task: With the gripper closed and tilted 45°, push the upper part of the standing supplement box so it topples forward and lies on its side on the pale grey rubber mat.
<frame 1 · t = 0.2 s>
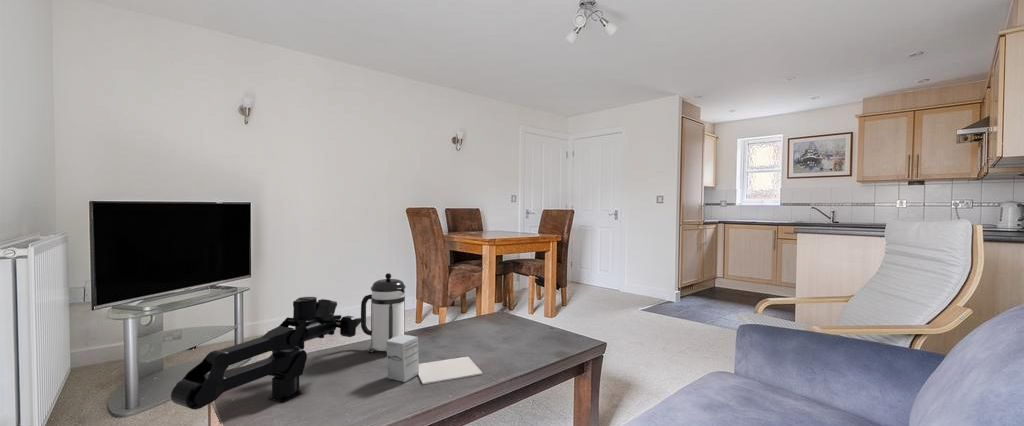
hand: (350, 318, 141), 17 cm above the table, tool horizontal, fingers open, 9 cm apart
coffee press: (384, 350, 157), on the table
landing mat: (447, 370, 138), on the table
supplement box: (403, 376, 132), on the table, touching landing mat
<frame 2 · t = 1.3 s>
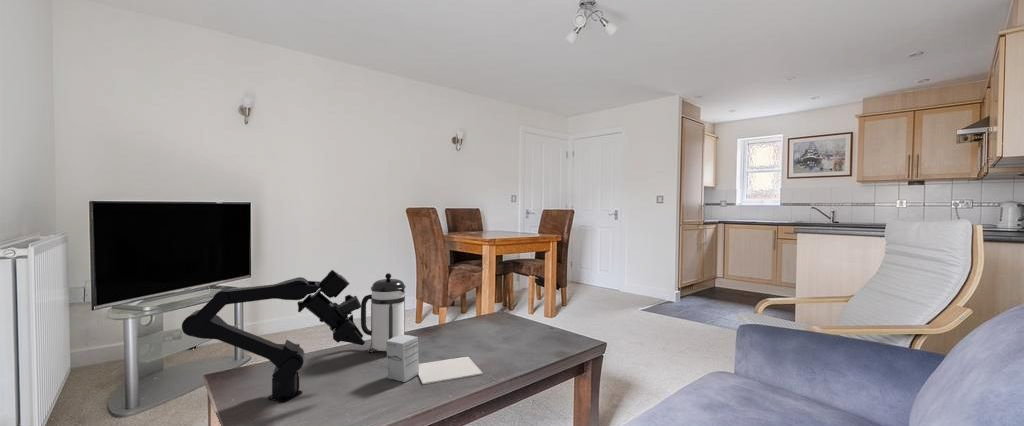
hand: (363, 340, 127), 14 cm above the table, tool tilted 45°, fingers open, 7 cm apart
nothing on the table moved.
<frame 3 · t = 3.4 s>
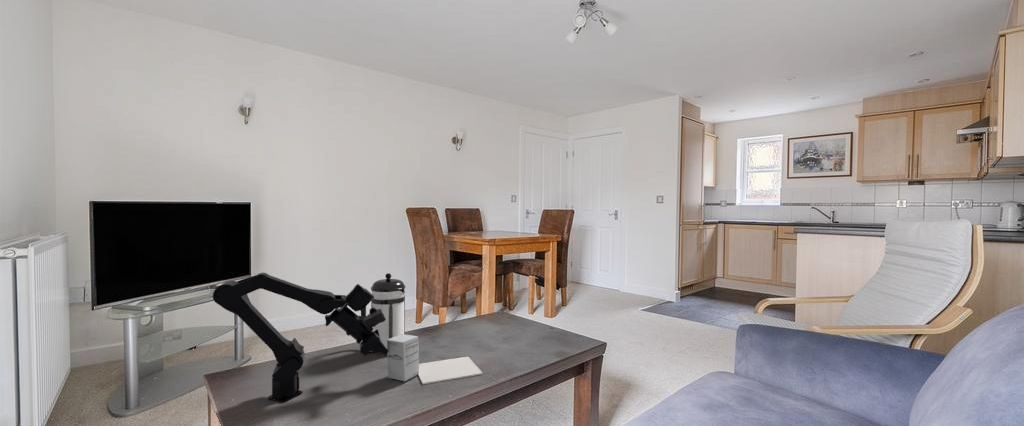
hand: (387, 352, 130), 9 cm above the table, tool tilted 45°, fingers closed
supplement box: (403, 376, 132), on the table, touching gripper, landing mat
everything else where it was.
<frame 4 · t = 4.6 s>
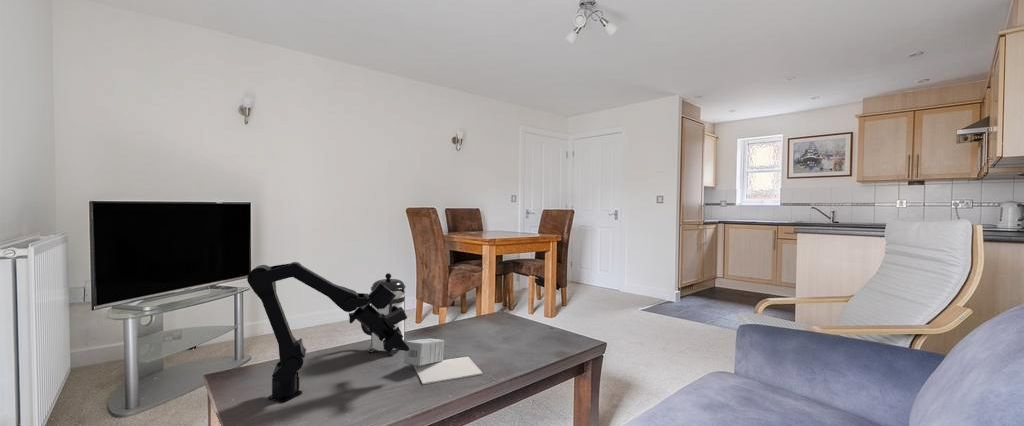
hand: (408, 349, 132), 9 cm above the table, tool tilted 45°, fingers closed
supplement box: (412, 353, 136), point 6 cm above the table
everything else where it was.
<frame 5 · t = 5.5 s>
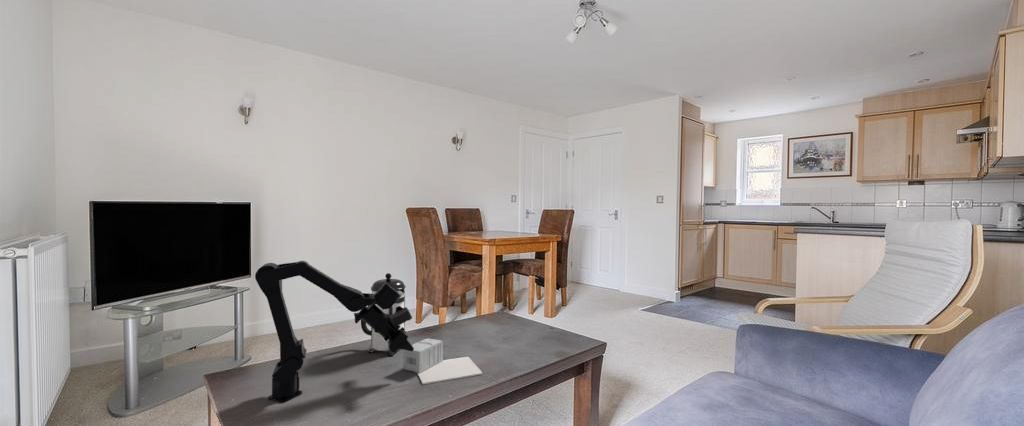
hand: (412, 349, 133), 9 cm above the table, tool tilted 45°, fingers closed
supplement box: (410, 360, 135), point 4 cm above the table, touching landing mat
everything else where it was.
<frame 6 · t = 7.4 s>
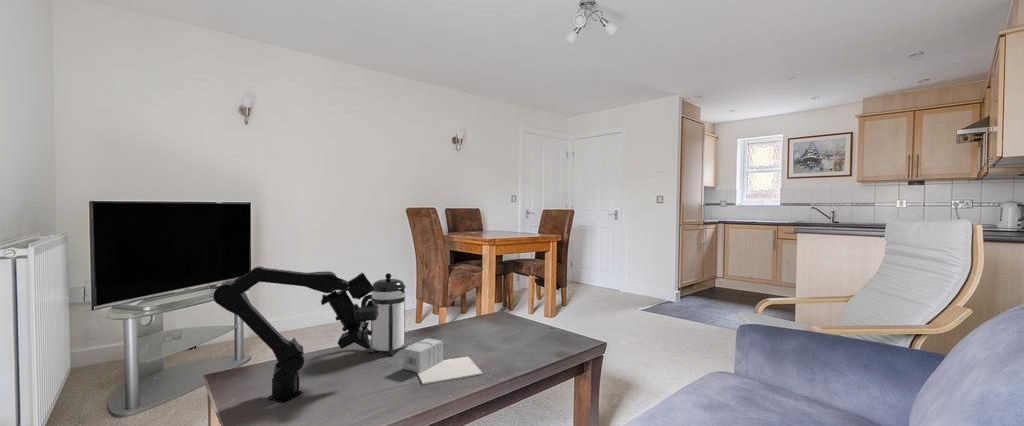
hand: (369, 348, 129), 10 cm above the table, tool tilted 30°, fingers closed
nothing on the table moved.
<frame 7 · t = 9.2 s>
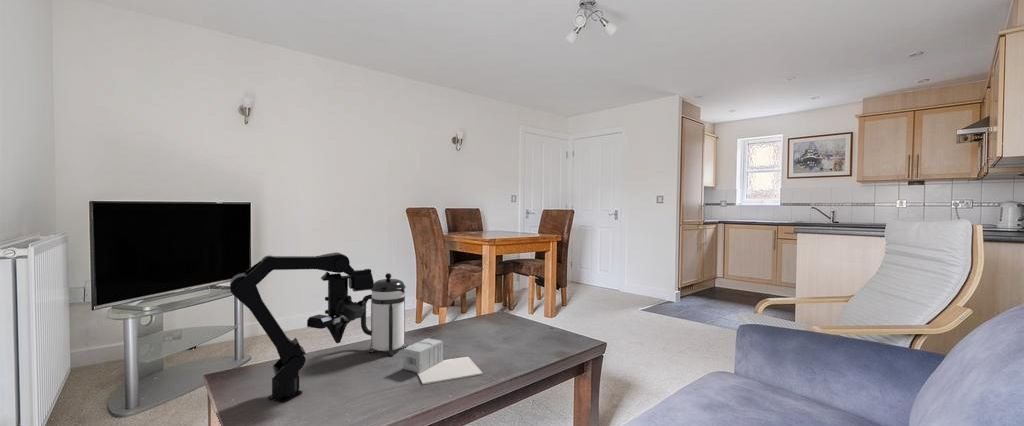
hand: (338, 342, 126), 13 cm above the table, tool pointing down, fingers closed
nothing on the table moved.
at the end: supplement box tilted 90°; supplement box inside the target area (4.8 cm from its centre), point 4.2 cm above the table; supplement box touching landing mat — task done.
